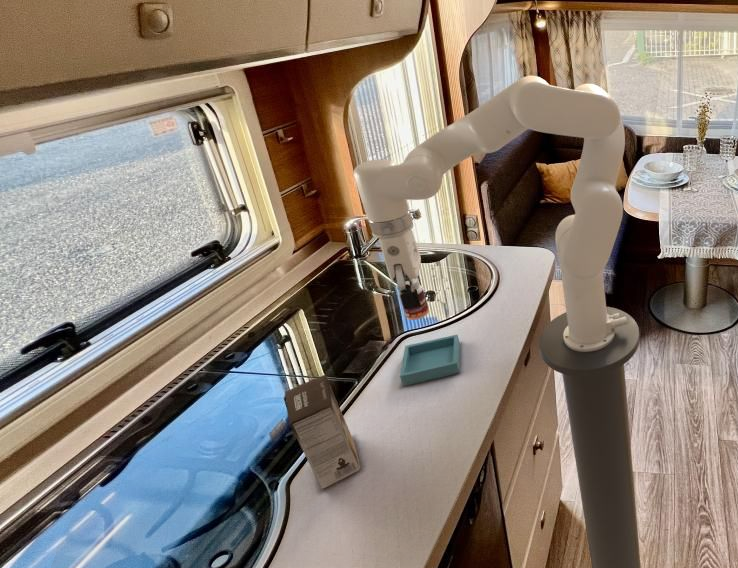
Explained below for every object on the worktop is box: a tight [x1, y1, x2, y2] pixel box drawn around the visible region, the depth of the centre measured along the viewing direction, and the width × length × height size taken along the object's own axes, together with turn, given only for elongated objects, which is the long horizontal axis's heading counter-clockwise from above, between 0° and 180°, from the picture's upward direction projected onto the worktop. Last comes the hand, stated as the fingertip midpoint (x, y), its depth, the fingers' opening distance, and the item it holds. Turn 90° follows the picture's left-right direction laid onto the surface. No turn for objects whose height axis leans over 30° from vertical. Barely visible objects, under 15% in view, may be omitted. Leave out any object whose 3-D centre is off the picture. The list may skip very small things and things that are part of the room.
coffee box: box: [284, 374, 361, 489], centre depth 87 cm, size 9×6×16 cm
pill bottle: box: [398, 278, 430, 321], centre depth 105 cm, size 5×5×8 cm
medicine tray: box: [399, 334, 461, 387], centre depth 112 cm, size 12×11×3 cm
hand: (413, 299), depth 105 cm, fingers closed on pill bottle, 4 cm apart
